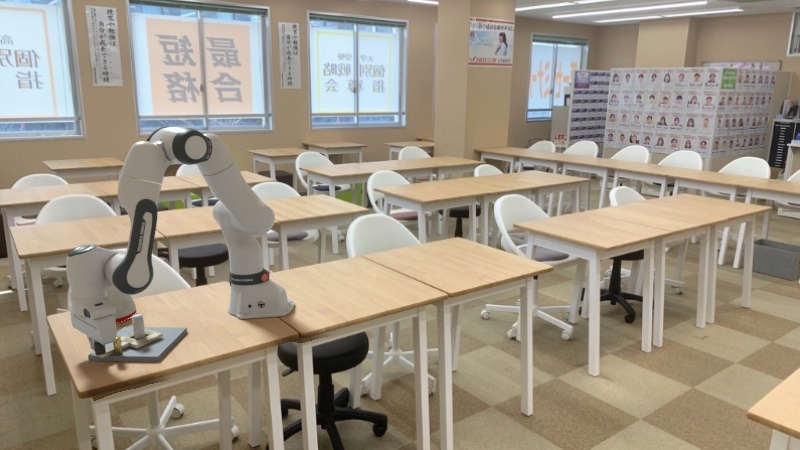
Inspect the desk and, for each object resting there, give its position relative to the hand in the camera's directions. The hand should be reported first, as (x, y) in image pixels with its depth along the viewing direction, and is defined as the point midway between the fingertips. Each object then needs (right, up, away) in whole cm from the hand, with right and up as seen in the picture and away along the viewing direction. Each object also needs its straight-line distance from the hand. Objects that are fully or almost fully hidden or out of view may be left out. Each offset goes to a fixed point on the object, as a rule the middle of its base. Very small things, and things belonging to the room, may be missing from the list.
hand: (95, 349), depth 156 cm
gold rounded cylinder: (+6, -1, +1) cm, 6 cm away
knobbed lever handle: (+6, 0, +5) cm, 8 cm away
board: (+8, -1, +10) cm, 13 cm away
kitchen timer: (-11, +4, +32) cm, 34 cm away
